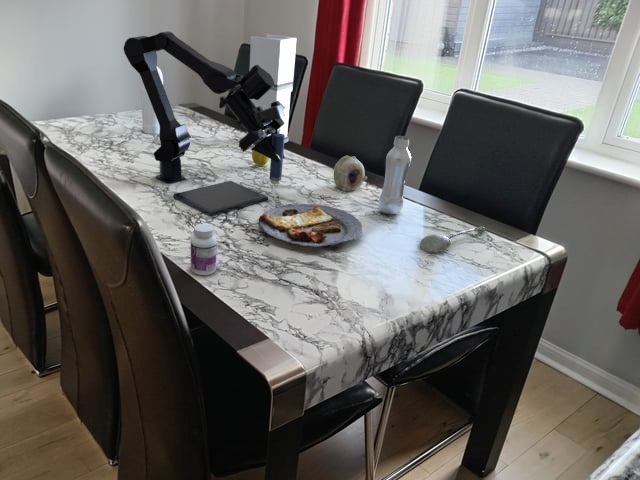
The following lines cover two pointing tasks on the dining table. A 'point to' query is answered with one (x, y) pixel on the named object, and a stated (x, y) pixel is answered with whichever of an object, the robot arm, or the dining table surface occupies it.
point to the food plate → (310, 225)
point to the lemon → (259, 158)
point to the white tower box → (275, 71)
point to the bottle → (149, 111)
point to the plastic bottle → (395, 176)
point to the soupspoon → (442, 240)
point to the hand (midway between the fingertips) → (281, 159)
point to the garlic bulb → (349, 173)
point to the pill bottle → (203, 250)
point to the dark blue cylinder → (279, 147)
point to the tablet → (220, 197)
